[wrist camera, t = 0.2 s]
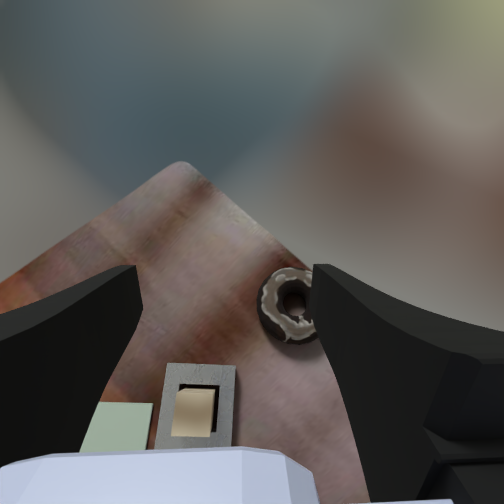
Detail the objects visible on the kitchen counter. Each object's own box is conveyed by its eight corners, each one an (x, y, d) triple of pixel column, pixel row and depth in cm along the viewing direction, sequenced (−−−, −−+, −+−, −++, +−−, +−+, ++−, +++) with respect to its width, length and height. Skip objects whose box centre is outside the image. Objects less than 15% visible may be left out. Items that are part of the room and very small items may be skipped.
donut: (239, 304, 42) (241, 298, 38) (290, 258, 46) (295, 249, 42) (293, 362, 39) (300, 362, 36) (341, 308, 43) (352, 303, 40)
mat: (134, 522, 31) (132, 525, 30) (23, 523, 30) (20, 525, 29) (153, 403, 35) (152, 403, 35) (58, 400, 35) (56, 401, 34)
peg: (212, 422, 35) (209, 436, 28) (181, 421, 35) (170, 436, 28) (215, 388, 37) (213, 393, 30) (186, 387, 37) (176, 392, 29)
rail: (225, 534, 31) (225, 547, 29) (145, 534, 30) (139, 548, 28) (234, 365, 38) (235, 365, 36) (170, 363, 38) (167, 362, 35)
